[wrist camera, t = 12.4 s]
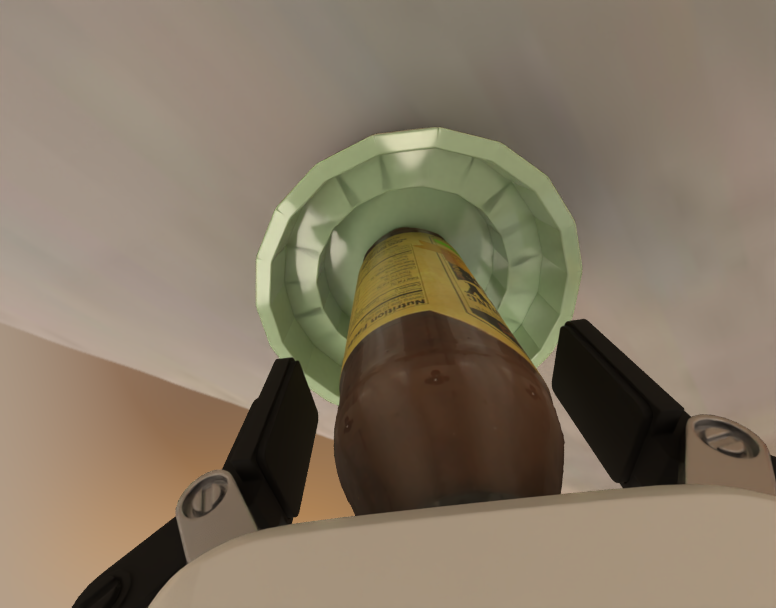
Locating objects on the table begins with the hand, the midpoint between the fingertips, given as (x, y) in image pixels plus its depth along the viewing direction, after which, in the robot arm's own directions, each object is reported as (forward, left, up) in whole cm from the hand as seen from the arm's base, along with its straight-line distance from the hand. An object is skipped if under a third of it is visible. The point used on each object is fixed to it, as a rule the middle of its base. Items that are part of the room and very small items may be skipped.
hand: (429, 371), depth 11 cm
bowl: (0, 0, -10) cm, 10 cm away
